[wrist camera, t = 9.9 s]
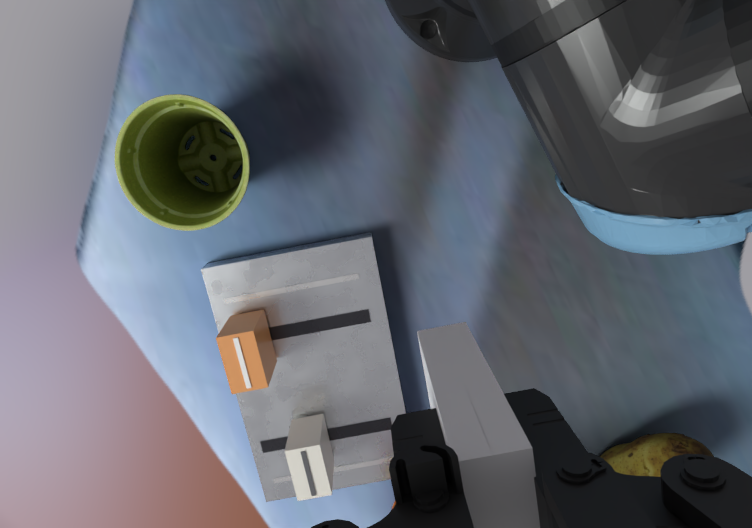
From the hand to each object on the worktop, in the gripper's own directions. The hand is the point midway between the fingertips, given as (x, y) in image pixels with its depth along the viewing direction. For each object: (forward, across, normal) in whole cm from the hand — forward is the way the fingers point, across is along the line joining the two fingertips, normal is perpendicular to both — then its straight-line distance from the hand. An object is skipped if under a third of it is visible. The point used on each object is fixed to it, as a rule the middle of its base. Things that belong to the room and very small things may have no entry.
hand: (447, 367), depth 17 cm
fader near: (+30, -14, -9) cm, 34 cm away
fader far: (+30, -11, -20) cm, 38 cm away
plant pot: (+33, -14, +7) cm, 36 cm away
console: (+32, -10, -14) cm, 37 cm away
